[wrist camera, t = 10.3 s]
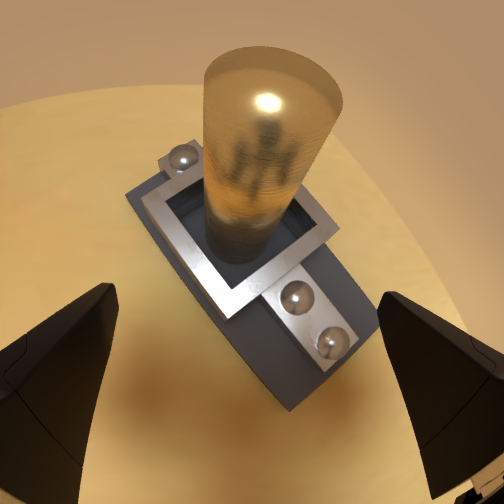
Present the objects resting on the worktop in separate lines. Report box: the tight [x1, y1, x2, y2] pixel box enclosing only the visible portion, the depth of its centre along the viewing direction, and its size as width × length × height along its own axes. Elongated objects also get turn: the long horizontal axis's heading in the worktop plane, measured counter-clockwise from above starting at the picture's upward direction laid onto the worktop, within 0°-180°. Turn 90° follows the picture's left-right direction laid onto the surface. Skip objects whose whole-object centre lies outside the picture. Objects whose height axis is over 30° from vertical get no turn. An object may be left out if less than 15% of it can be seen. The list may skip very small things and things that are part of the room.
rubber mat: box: [125, 147, 379, 412], centre depth 19 cm, size 18×9×1 cm, turn 39°
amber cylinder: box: [203, 46, 343, 265], centre depth 13 cm, size 4×4×12 cm
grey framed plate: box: [141, 139, 359, 372], centre depth 17 cm, size 17×8×4 cm, turn 39°
